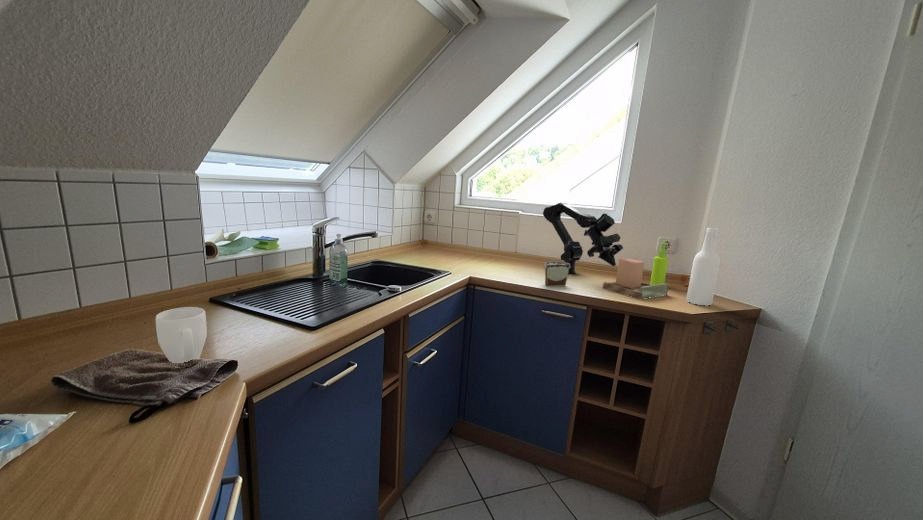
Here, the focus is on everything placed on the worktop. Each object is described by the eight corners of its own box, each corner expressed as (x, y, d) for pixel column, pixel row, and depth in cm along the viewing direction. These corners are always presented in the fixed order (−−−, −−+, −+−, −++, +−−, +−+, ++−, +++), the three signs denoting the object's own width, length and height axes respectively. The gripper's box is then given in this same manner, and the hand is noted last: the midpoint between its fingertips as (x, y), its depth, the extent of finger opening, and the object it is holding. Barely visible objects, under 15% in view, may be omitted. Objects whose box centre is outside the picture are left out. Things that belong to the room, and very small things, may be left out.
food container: (560, 282, 171) (563, 260, 169) (568, 285, 165) (571, 263, 163) (536, 282, 167) (539, 260, 165) (543, 286, 161) (546, 263, 159)
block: (615, 283, 166) (619, 258, 164) (624, 282, 169) (627, 258, 167) (631, 287, 159) (635, 262, 157) (640, 286, 162) (644, 261, 160)
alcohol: (710, 302, 151) (725, 228, 145) (712, 308, 144) (728, 230, 138) (685, 298, 155) (698, 226, 149) (686, 303, 148) (700, 227, 142)
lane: (602, 288, 164) (604, 277, 163) (629, 284, 174) (630, 273, 173) (640, 299, 149) (642, 287, 148) (666, 295, 159) (668, 283, 158)
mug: (158, 362, 80) (153, 311, 77) (205, 352, 85) (201, 304, 83) (165, 386, 71) (159, 329, 69) (216, 373, 77) (212, 320, 75)
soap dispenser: (666, 285, 177) (673, 243, 173) (661, 287, 172) (669, 244, 168) (652, 282, 181) (659, 241, 177) (648, 284, 176) (655, 242, 172)
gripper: (595, 227, 166) (613, 256, 159) (622, 227, 175) (640, 254, 168) (579, 242, 174) (596, 270, 167) (606, 241, 183) (622, 268, 176)
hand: (614, 265), depth 169 cm, fingers closed
